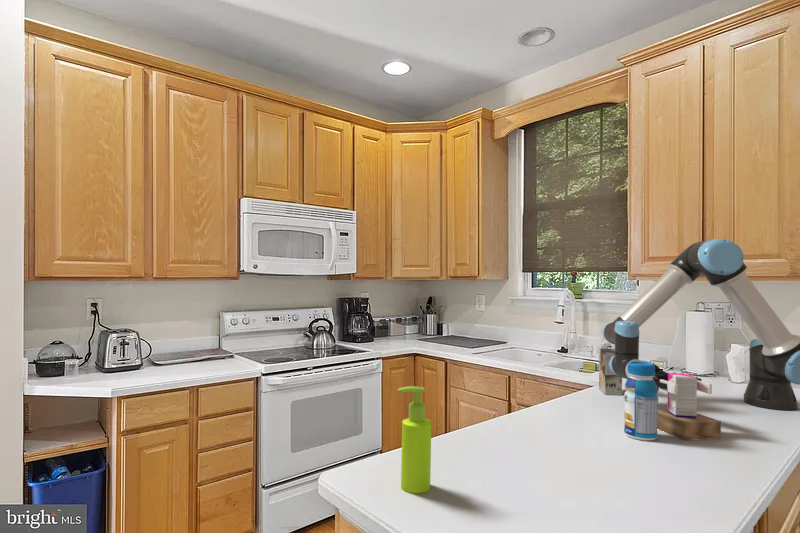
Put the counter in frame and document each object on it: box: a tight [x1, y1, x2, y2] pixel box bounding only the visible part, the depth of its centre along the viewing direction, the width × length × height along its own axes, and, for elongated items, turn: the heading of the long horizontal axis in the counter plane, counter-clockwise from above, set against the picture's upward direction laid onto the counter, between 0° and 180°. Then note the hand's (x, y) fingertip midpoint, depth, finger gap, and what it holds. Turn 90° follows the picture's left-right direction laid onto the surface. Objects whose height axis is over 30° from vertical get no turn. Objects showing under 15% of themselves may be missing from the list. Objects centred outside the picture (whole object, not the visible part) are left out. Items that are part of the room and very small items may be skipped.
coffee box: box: [598, 348, 623, 396], centre depth 185 cm, size 9×6×16 cm
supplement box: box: [667, 372, 698, 418], centre depth 138 cm, size 6×6×12 cm
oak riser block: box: [657, 409, 722, 441], centre depth 137 cm, size 12×12×5 cm
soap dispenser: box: [397, 385, 432, 495], centre depth 98 cm, size 6×7×20 cm
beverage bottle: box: [623, 361, 659, 442], centre depth 133 cm, size 8×8×20 cm
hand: (693, 389), depth 133 cm, fingers open, 9 cm apart
